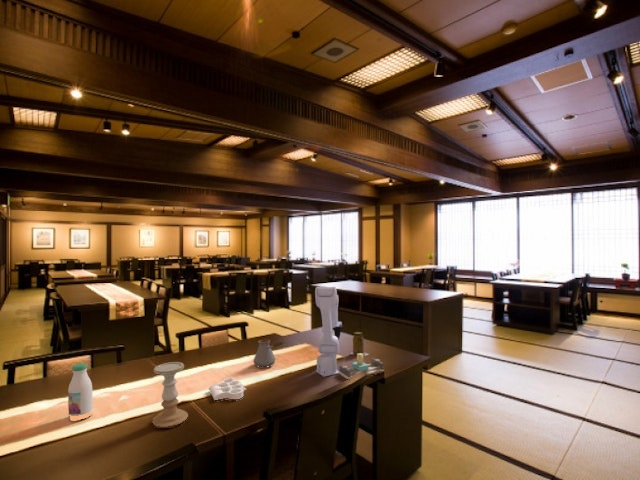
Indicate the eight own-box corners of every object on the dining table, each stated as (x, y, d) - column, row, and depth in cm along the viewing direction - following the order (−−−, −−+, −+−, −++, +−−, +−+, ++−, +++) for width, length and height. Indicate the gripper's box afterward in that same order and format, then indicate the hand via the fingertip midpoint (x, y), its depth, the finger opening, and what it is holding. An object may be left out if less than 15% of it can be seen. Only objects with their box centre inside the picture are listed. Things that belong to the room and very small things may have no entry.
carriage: (359, 371, 173) (359, 357, 173) (352, 366, 179) (351, 353, 179) (368, 369, 175) (368, 355, 175) (360, 364, 181) (360, 351, 181)
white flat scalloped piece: (207, 390, 162) (239, 383, 169) (216, 406, 146) (251, 398, 153) (207, 382, 162) (239, 376, 169) (215, 397, 146) (251, 390, 153)
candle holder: (146, 421, 134) (145, 367, 134) (179, 409, 143) (178, 358, 143) (159, 433, 126) (158, 375, 125) (193, 420, 134) (192, 366, 134)
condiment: (358, 351, 212) (358, 330, 212) (369, 354, 206) (368, 333, 205) (349, 353, 207) (349, 332, 207) (360, 357, 201) (359, 335, 201)
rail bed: (347, 380, 169) (347, 370, 168) (338, 374, 177) (337, 364, 176) (385, 372, 178) (384, 362, 178) (374, 366, 186) (374, 357, 186)
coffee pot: (249, 366, 190) (248, 337, 190) (265, 360, 199) (265, 333, 199) (276, 375, 176) (276, 344, 176) (293, 368, 185) (292, 339, 185)
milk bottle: (88, 410, 144) (87, 360, 144) (96, 416, 139) (94, 364, 139) (65, 418, 138) (64, 365, 138) (72, 424, 133) (71, 370, 133)
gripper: (330, 319, 188) (330, 345, 188) (346, 314, 200) (346, 339, 200) (319, 318, 193) (320, 343, 193) (335, 313, 204) (336, 337, 204)
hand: (333, 341), depth 196 cm, fingers open, 7 cm apart
